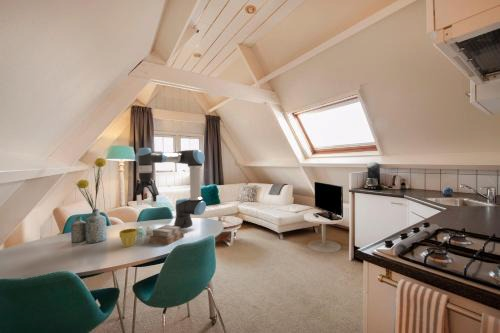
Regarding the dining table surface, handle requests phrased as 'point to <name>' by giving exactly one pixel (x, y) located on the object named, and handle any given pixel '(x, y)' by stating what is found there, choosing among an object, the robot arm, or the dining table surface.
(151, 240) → the tower plinth
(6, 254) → the dining table surface
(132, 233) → the plant pot
